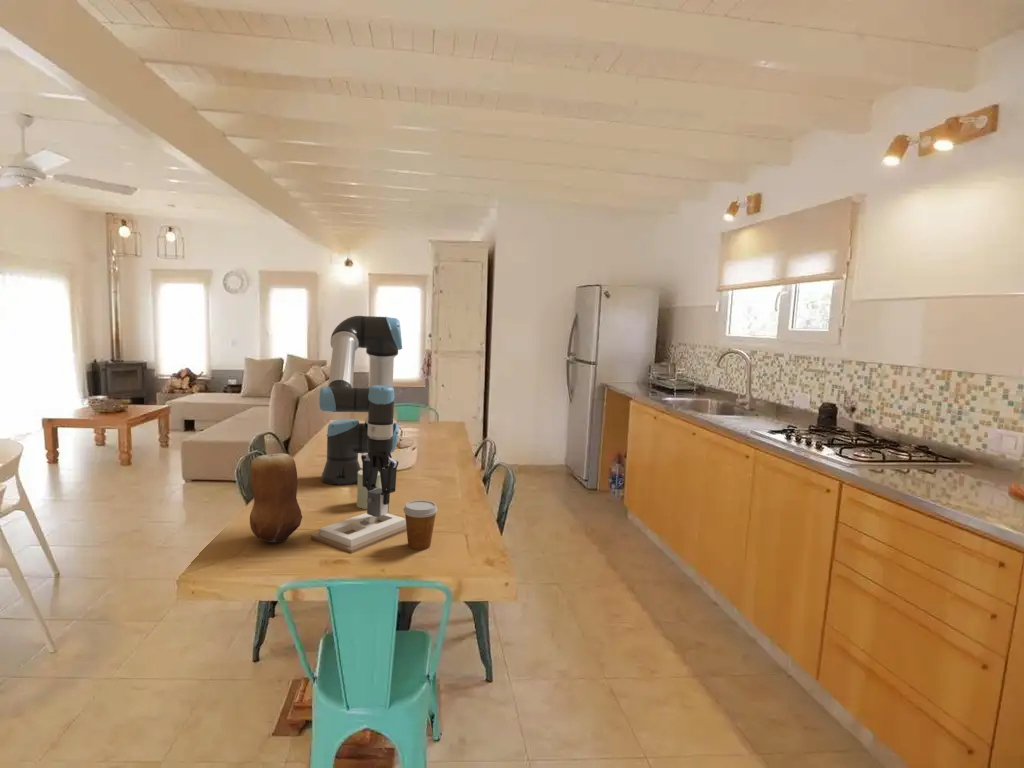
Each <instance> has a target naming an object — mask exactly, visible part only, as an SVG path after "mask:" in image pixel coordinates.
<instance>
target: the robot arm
mask: <svg viewBox="0 0 1024 768" xmlns="http://www.w3.org/2000/svg"><path fill="white" fill-rule="evenodd" d="M402 339H403V338H402V331H401V323H400V320H399V319H398V318H396V317H389V316H375V315H373V316H369V315H366V316H365V315H353V316H350V317H348V318H346V319H344V320H342V321H341V322H339V324H338V325H337V326H336V327H335V328H334V329H333V331H332V334H331V337H330V347H331V349H332V351H331V359H330V360H331V361H330V369H329V377H328V383H327V385H328V386H323V387H321V388H320V390H319V400H318V401H319V402H318V403H319V404H318V405H319V409H320V410H321V411H323V412H330V413H331V412H332V413H350V412H351V413H367V414H368V415H367V417H366V418H365V419H364V423H362V422H360V421H359V419H356V418H345V419H339V420H334V421H332V422H330V423H329V424H328V425H327V430H326V431H327V433H326V438H327V439H326V441H327V442H326V445H327V446H326V461H325V465H324V468H323V471H322V472H321V481H322V483H324V482H325V484H328V485H334V484H337V485H338V486H343V485H344V484H346V485H352V484H356V483H357V484H358V471H360V470H363V487H366V488H367V490H368V491H371V490H375V489H374V488H377V487H376V481H377V475H378V471H379V472H380V478H381V486H382V493H381V494H380V515H381V516H382V515H384V514H387V513H388V504H389V505H390V499H391V498H390V495H391V494H393V493H395V492H396V488H397V487H396V486H397V485H396V483H397V472H398V471H397V469H398V465H399V463H400V462H399V461H398V460H394V459H393V458H392V457H393V456H392V453H394V451H396V448H397V445H398V437H399V430H400V425H399V424H398V423H396V419H395V418H394V413H395V411H394V410H395V398H396V397H395V389H394V387H393V384H394V383H393V382H394V363H395V361H394V359H395V358H396V357H397V356H398V354H399V351H400V350H403V341H402ZM358 348H360V349H366V350H365V352H366V355H368V356H369V387H353V384H354V372H355V360H356V359H355V358H356V351H357V350H358ZM359 454H361V456H360V459H361V462H362V466H360V462H359ZM361 467H362V469H361ZM342 484H343V485H342ZM337 485H336V486H337Z"/></svg>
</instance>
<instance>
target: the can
mask: <svg viewBox="0 0 1024 768" xmlns="http://www.w3.org/2000/svg"><path fill="white" fill-rule="evenodd" d="M376 487H377V488H374V489H378V488H381V489H382V486H381V478H380V472H379V471H378V475H377V481H376ZM356 492H357V493H356V495H357V497H356V498H357V500H356V507H357V508H358V509H361V508H362V510H367V501H366V500H367V499H368V490H367V488H366V487H363V469H361V470H360V471H358V482H357V491H356Z"/></svg>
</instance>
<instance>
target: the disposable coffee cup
mask: <svg viewBox="0 0 1024 768" xmlns="http://www.w3.org/2000/svg"><path fill="white" fill-rule="evenodd" d="M403 512H404V515H405V517H404V518H405V519H406V528H407V531H406V535H407V536H406V537H407V538H406V539H407V547H408V548H409V549H410V550H416V551H424V550H427V549H430V547H431V543H432V539H433V532H434V525H435V519H436V515H437V512H438V507H437V505H436V502H434V501H430V500H424V499H423V500H422V499H421V500H420V499H417V500H412V501H407V502H406V503H405V505H404V508H403Z"/></svg>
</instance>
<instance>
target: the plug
mask: <svg viewBox="0 0 1024 768" xmlns="http://www.w3.org/2000/svg"><path fill="white" fill-rule="evenodd" d="M381 493H382V489H381V488H378V489H375V490H371V491H368V499H367V500H366V501H367V509H366V513H367V514H369V515H372V516H375V517H378V516H381V515H380V494H381ZM389 507H390V503H389V504H388V513H389ZM389 514H390V513H389Z"/></svg>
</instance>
